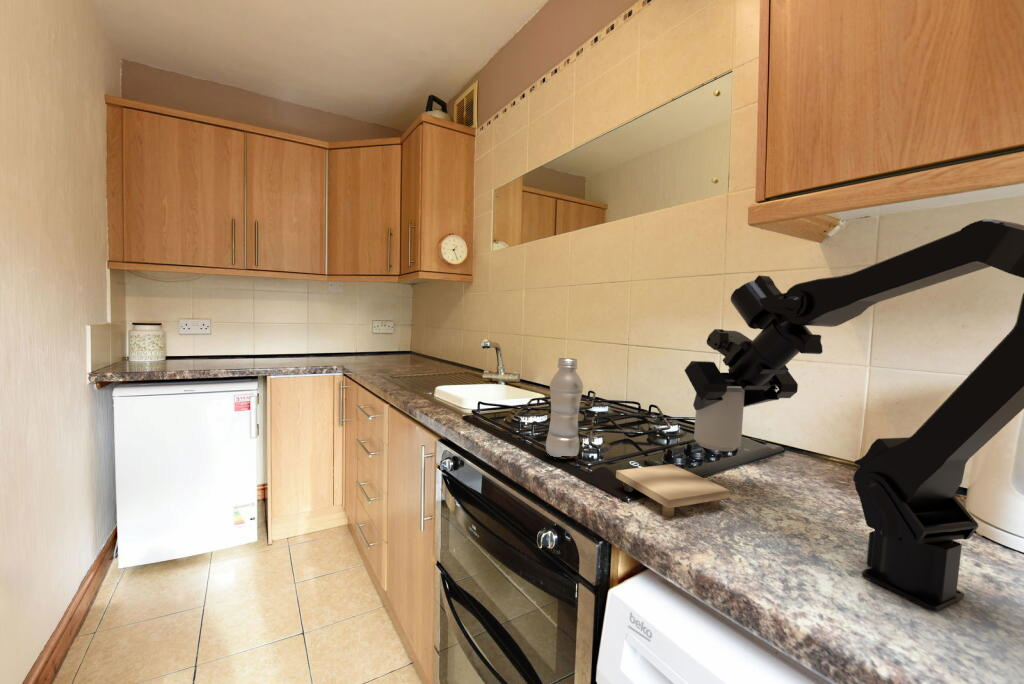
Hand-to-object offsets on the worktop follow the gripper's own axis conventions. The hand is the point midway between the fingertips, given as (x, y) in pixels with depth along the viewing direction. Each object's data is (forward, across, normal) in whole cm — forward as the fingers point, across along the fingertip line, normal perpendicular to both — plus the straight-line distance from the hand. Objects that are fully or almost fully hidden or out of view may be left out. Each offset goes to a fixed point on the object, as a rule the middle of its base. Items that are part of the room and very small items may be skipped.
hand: (713, 407), depth 77 cm
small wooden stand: (+5, +12, +14) cm, 19 cm away
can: (+4, 0, +6) cm, 7 cm away
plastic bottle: (+20, +22, -1) cm, 30 cm away
